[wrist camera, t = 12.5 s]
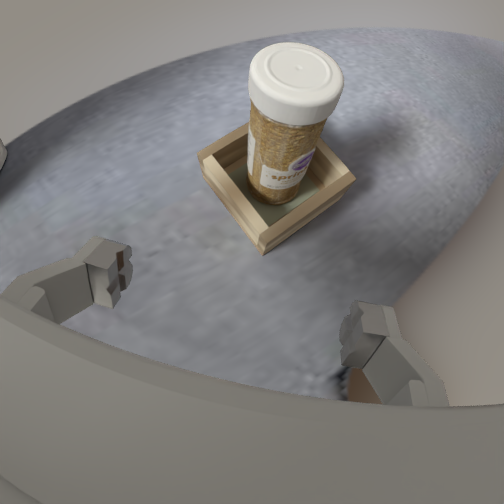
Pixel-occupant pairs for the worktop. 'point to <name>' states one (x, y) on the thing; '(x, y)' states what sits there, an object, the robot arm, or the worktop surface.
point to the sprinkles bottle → (287, 116)
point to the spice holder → (263, 215)
